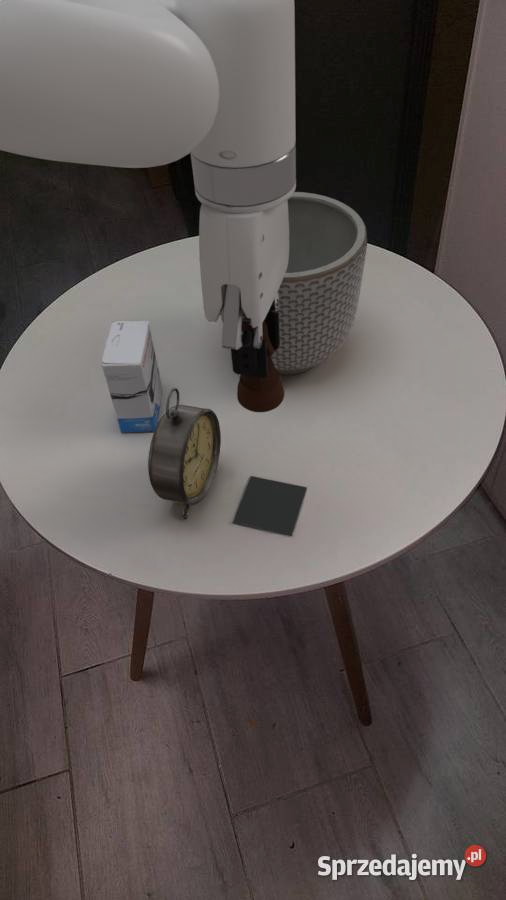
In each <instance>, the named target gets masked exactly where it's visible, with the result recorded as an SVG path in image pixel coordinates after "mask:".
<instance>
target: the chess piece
mask: <svg viewBox="0 0 506 900" xmlns="http://www.w3.org/2000/svg"><path fill="white" fill-rule="evenodd" d="M265 319H266V317H265ZM265 319H264V321H263V322H262V326H263V340H264V341H267V357H268V374H267V377H266V378H258V377H252V376H246V375H240V374H239V378H238V379H239V380H238V383H237V389H236V396H237V397H236V398H237V401H238V403H239V405H240V406H241V407H242V408H244V409H245V410H248V411H250V412H253V413H267V412H271V411H273V410H275V409H277V408H278V407H279V406H280V405H282V402H283V401H284V398H285V388H284V387H285V386H284V382H283V380H282V378H281V374H279V372H278V370H277V369H276V368H275V366H274V363H273V361H272V359H271V356H272V355H273V354H274V351H275V350H274V348H273V347H272V344H271V342H270V340H269V337H268V329H267V327H268V326H267V325H266V323H265ZM242 330H247V331H251V332H253V328H252V325H250V324H249V323H244V322H242Z"/></svg>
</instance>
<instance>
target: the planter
mask: <svg viewBox="0 0 506 900" xmlns="http://www.w3.org/2000/svg"><path fill="white" fill-rule="evenodd" d="M288 215H289V261H288V266H287V270H286V273H285V275H284V278H283V280H282V282H281V285H280V287H279V289H278V293H279V306H278V310H277V311H273V312H277V313H279V329H280V346H279V348H278V349H277V350H275V351H274V354H273V355H272V356H271V359H272V361H273V363H274V366H275V368H276V369H277V370H278V372H279V374H280V375H298V374H302V373H305V372H308V371H310V370H312V369H314V368H316V367H317V366H318V365H319V364H320V363H323V362H324V361H326V360H327V359H329V358H330V357H332V356H333V355H334V354H335V353H336V352H337V351H338V350H339V349H340V348H341V347H342V346H343V344H344V343H345V341H347V338H348V337H349V334H350V332H351V330H352V328H353V325H354V323H355V322H354V321H355V318H356V315H357V309H358V304H359V299H360V295H361V289H362V282H363V276H364V268H365V264H366V263H365V262H366V256H367V248H368V233H367V227H366V224H365V222H364V220H363V218H362V217H361V216H360V214H359V213H357V211H355V210H354V208H351V207H350V206H349V205H347V204H345V203H343V202H342V201H339V200H337V199H335V198H332V197H329V196H326V195H322V194H318V193H312V192H304V191H294V194H293V195H292V196H291V197H290V198H289V199H288ZM219 317H220V318H221V322H222V323H223V319H224V308H223V310H222V312H221V314H220V316H219Z"/></svg>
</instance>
